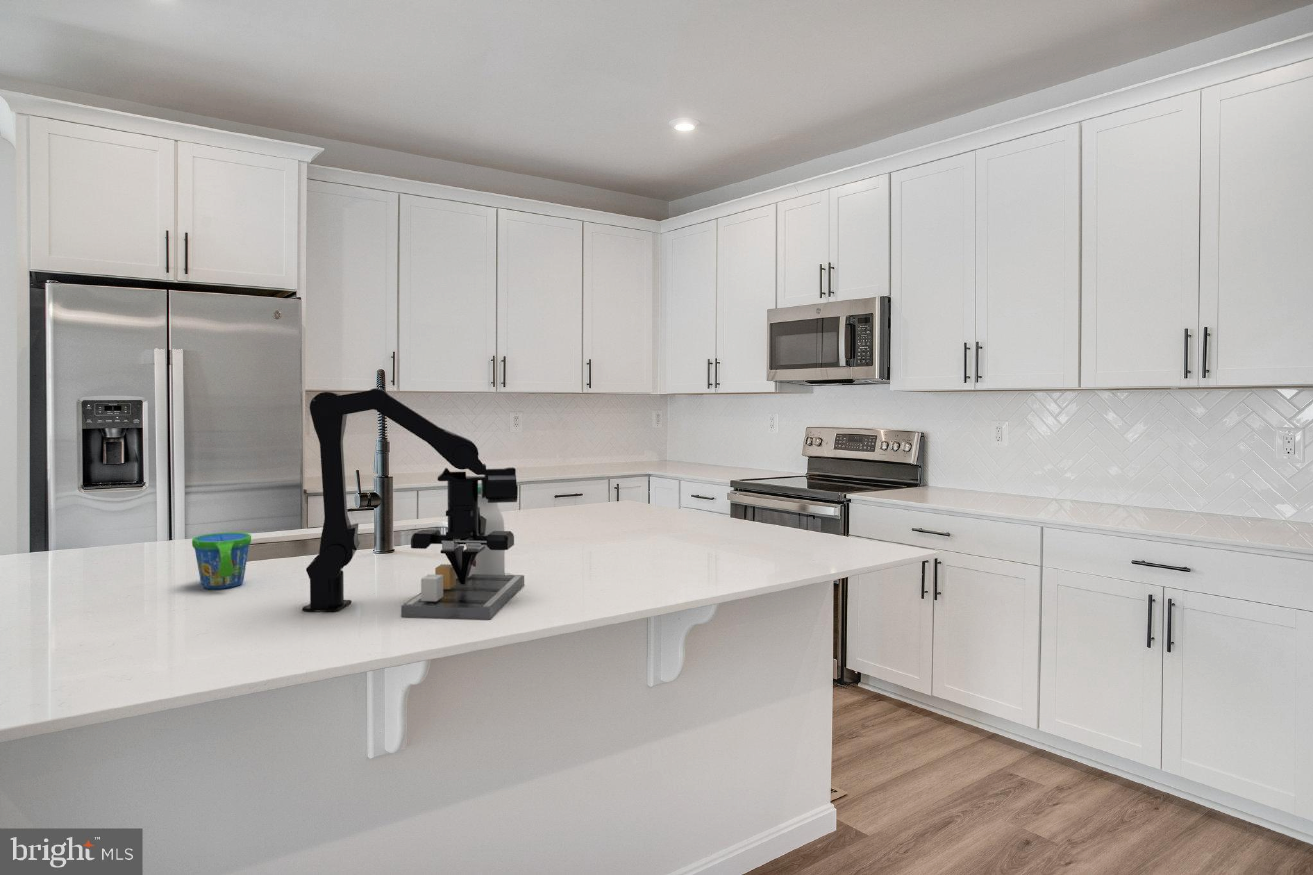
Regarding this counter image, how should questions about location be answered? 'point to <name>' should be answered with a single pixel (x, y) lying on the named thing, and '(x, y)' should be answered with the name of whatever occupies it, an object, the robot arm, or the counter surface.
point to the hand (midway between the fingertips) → (463, 584)
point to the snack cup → (221, 559)
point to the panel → (468, 598)
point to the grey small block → (431, 587)
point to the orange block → (446, 575)
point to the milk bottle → (486, 559)
